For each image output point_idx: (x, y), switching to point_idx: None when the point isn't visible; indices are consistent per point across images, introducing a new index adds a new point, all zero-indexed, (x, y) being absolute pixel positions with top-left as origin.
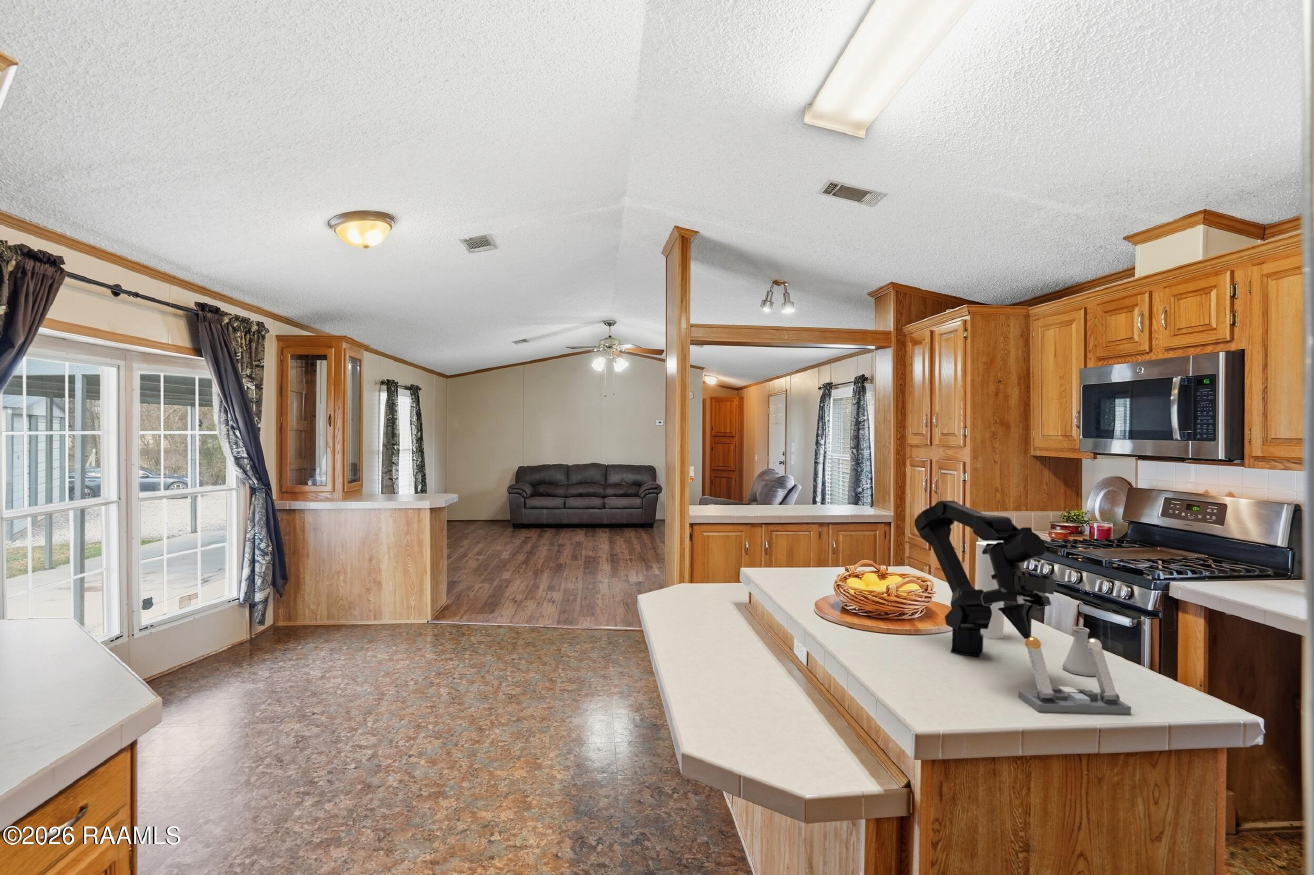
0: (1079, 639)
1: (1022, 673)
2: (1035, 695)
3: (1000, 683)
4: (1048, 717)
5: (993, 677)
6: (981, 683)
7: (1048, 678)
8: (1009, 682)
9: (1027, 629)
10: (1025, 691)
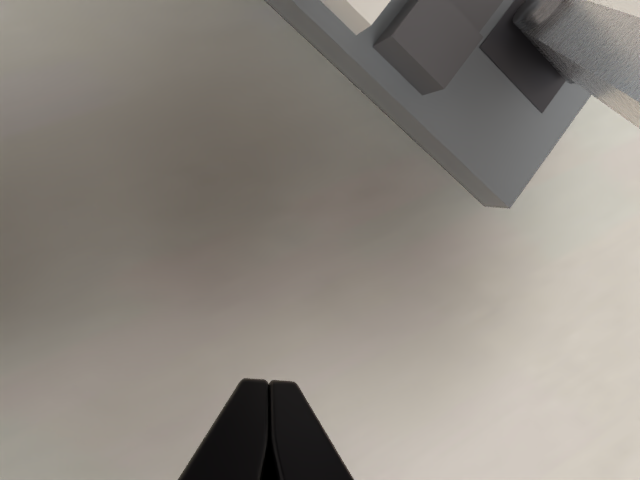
0: None
1: (13, 401)
2: (514, 112)
3: (353, 372)
4: (615, 3)
5: None
6: (441, 427)
7: (601, 9)
8: (290, 353)
9: (325, 459)
10: (497, 175)
